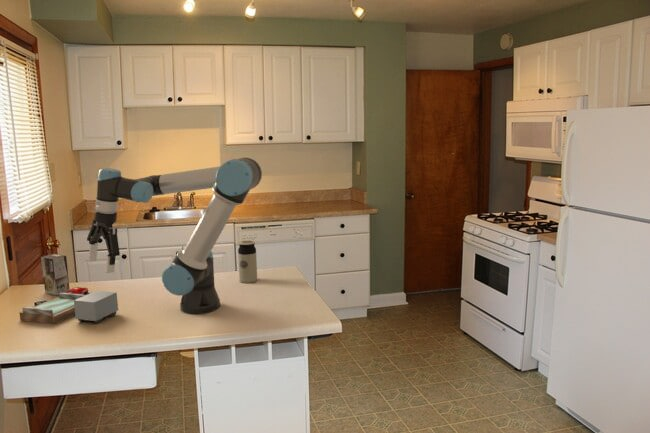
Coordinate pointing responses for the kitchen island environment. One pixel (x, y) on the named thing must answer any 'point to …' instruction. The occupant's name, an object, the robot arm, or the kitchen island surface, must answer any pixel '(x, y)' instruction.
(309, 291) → the kitchen island surface
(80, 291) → the race car
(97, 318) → the grey cart
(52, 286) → the coffee box
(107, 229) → the robot arm
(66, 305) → the tray
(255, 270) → the travel mug
